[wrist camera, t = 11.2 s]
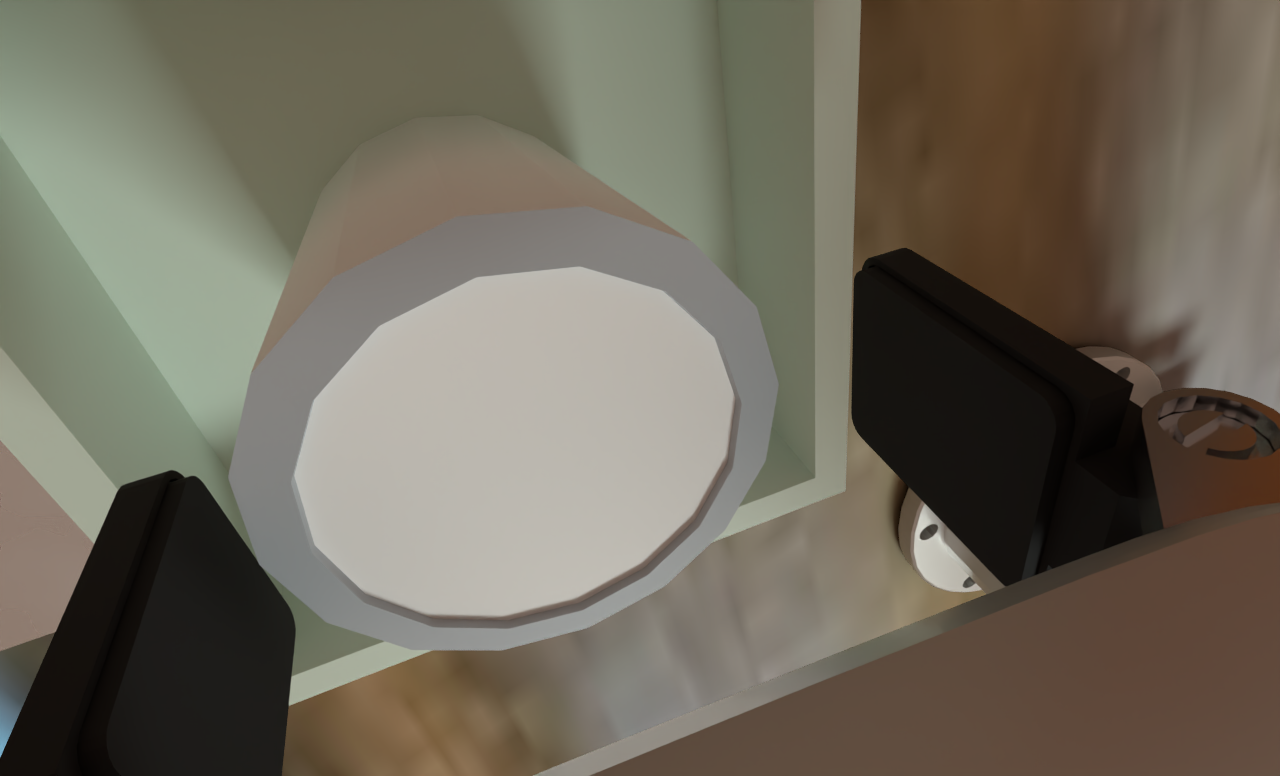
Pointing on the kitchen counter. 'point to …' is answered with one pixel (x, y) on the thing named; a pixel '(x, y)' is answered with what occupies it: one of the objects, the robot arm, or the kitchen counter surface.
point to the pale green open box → (317, 148)
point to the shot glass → (494, 396)
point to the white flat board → (34, 555)
